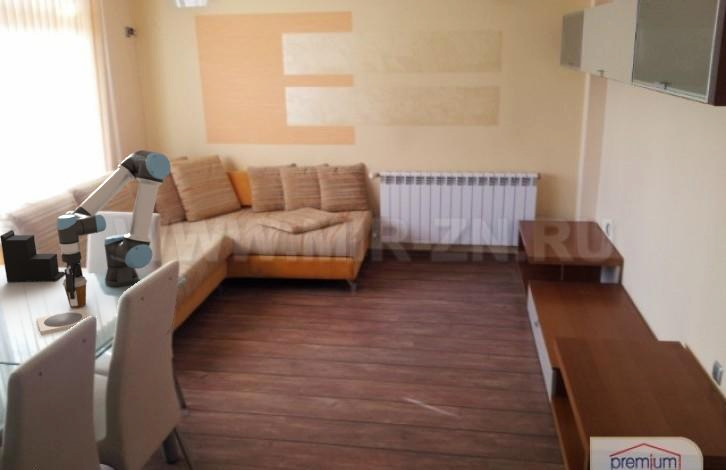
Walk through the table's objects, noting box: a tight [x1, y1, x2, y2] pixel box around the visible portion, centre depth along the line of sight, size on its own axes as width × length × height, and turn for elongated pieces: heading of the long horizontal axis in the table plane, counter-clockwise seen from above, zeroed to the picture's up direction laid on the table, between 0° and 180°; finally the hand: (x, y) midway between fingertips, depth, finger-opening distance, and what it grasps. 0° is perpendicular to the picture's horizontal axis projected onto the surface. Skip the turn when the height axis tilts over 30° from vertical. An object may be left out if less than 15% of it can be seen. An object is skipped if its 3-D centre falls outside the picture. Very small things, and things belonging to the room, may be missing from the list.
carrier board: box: [35, 308, 89, 335], centre depth 242 cm, size 18×15×2 cm
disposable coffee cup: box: [62, 275, 88, 309], centre depth 258 cm, size 10×10×12 cm
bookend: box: [0, 229, 65, 283], centre depth 290 cm, size 23×11×24 cm, turn 94°
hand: (77, 301), depth 259 cm, fingers closed on disposable coffee cup, 8 cm apart
